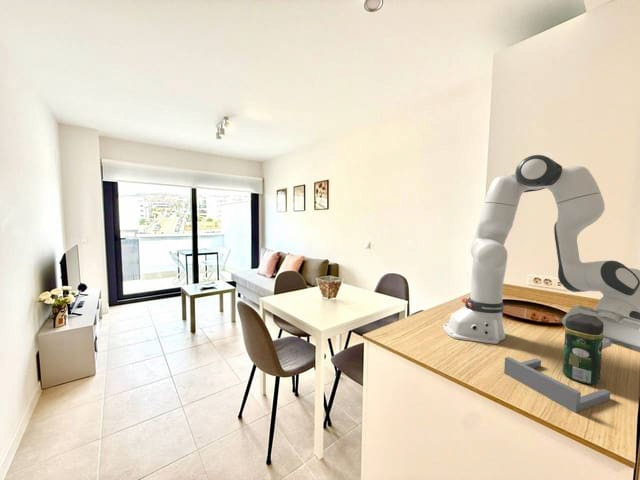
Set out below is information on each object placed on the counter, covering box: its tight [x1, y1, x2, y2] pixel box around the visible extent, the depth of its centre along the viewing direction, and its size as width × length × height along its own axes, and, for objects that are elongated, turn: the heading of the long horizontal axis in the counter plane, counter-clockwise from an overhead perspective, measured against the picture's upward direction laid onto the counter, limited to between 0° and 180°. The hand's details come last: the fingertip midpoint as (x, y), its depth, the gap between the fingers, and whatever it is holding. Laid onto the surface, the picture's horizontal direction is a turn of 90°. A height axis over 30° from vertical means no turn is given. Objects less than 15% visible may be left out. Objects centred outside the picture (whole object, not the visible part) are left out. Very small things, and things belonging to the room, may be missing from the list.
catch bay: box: [503, 356, 612, 414], centre depth 76 cm, size 14×18×5 cm
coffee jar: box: [562, 313, 604, 386], centre depth 80 cm, size 10×8×19 cm
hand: (592, 349), depth 82 cm, fingers closed
